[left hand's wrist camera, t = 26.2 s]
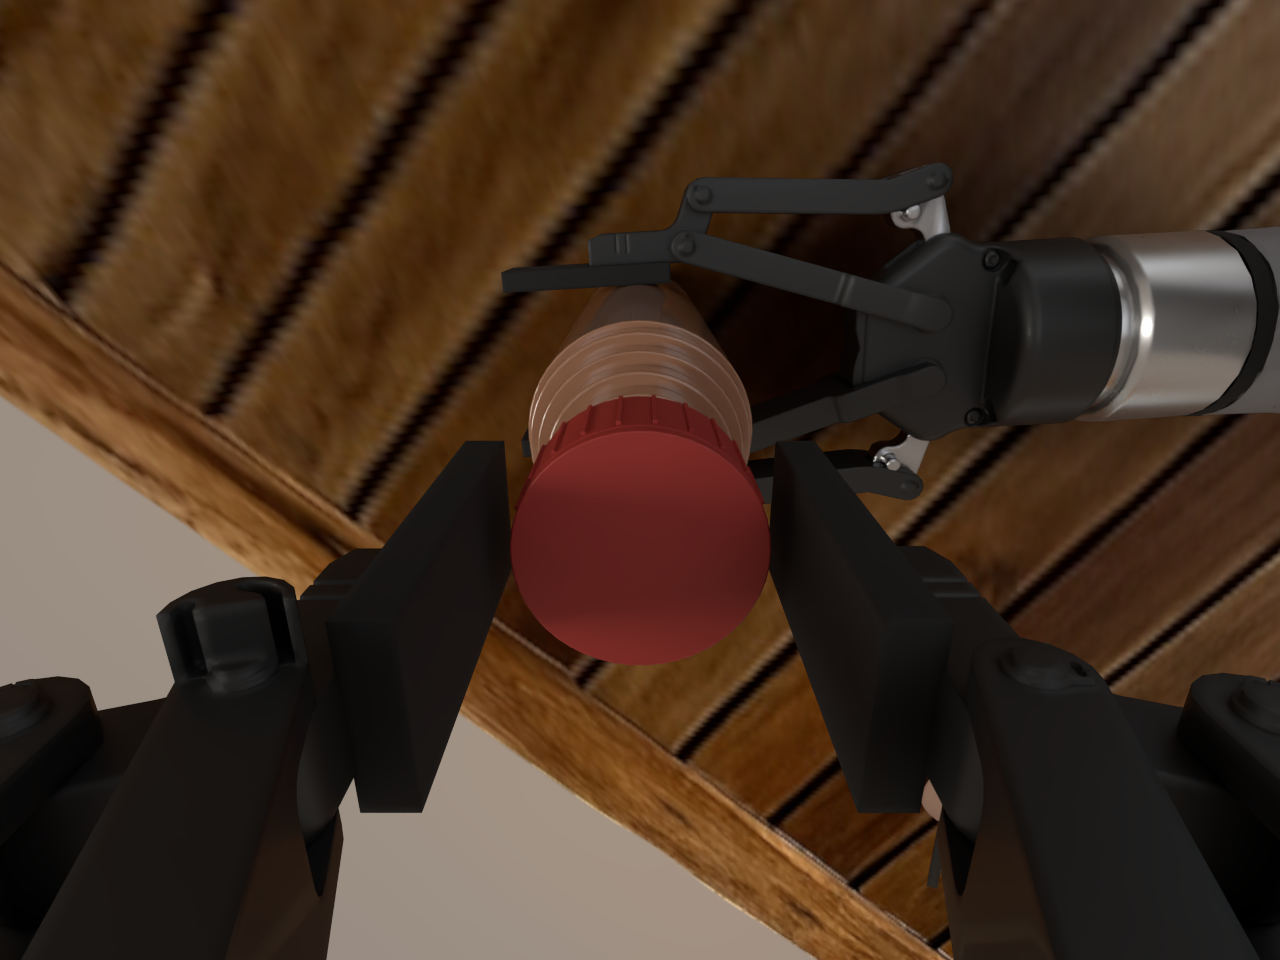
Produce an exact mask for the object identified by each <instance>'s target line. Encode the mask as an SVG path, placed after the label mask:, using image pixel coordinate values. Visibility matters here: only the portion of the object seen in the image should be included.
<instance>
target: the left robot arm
mask: <svg viewBox="0 0 1280 960" xmlns="http://www.w3.org/2000/svg"><path fill="white" fill-rule="evenodd" d="M769 530H770V535H771V557H770V566H769V571H770V574H771V576H772V579H773V582H774V585H775V587H776V590H777V593H778V596H779V598H780V601H781V604H782V606H783V609H784V612H785V615H786V617H787V620H788V623H789V626H790V628H791V631H792V634H793V636H794V639H795V642H796V645H797V647H798V650H799V653H800V656H801V658H802V661H803V664H804V666H805V669H806V672H807V675H808V677H809V680H810V683H811V686H812V688H813V691H814V694H815V696H816V699H817V702H818V705H819V707H820V710H821V713H822V716H823V718H824V721H825V724H826V726H827V729H828V732H829V735H830V737H831V740H832V743H833V746H834V748H835V751H836V754H837V756H838V759H839V762H840V765H841V767H842V770H843V773H844V776H845V778H846V781H847V784H848V786H849V789H850V792H851V795H852V797H853V800H854V803H855V806H856V808H857V811H858V813H920V808H921V802H922V797H923V792H924V786H925V781H926V776H928V778H929V780H930V782H931V784H932V786H933V788H934V790H935V792H936V794H937V796H938V798H939V800H940V801H941V803H942V809H941V814H940V818H939V823H938V828H937V833H936V838H935V843H934V848H933V853H932V858H931V863H930V868H929V875H928V882H927V886H929V887H933V888H937V886H938V881H939V876H940V873H941V872H942V879H943V886H944V893H945V900H946V907H947V914H948V921H949V928H950V935H951V942H952V949H953V956H954V960H1280V683H1278V682H1275V681H1272V680H1269V681H1266V680H1265V679H1264V678H1260V677H1255V676H1249V675H1248V676H1244V675H1235V674H1227V673H1219V674H1210V675H1202V676H1201V677H1200V678H1198V679H1197V680H1196V681H1194V682H1193V683H1192V684H1191V687H1190V690H1189V693H1188V696H1187V699H1186V702H1185V705H1184V708H1182V707H1177V706H1171V705H1166V704H1161V703H1156V702H1150V701H1145V700H1140V699H1135V698H1129V697H1124V696H1120V695H1116V694H1112V692H1111V690H1110V689H1109V687H1108V685H1107V683H1106V682H1105V680H1104V679H1103V678H1102V677H1101V676H1100V675H1099V673H1098V672H1097V671H1096V670H1095V669H1094V668H1093V667H1092V666H1091V665H1089V664H1088V663H1086V662H1084V661H1083V660H1081V659H1080V658H1078V657H1077V656H1075V655H1074V654H1072V653H1069V652H1067V651H1065V650H1062V649H1060V648H1057V647H1055V646H1052V645H1050V644H1047V643H1042V642H1038V641H1033V640H1029V639H1025V638H1020V637H1019V636H1018V635H1017V634H1016V633H1015V631H1014V630H1013V629H1012V628H1011V627H1010V626H1009V625H1008V624H1007V623H1006V621H1005V620H1004V619H1003V618H1002V617H1001V616H1000V615H999V614H998V613H997V612H996V610H995V609H994V608H993V607H992V606H991V605H990V604H989V603H988V602H987V600H986V599H985V598H981V597H980V593H979V592H978V591H977V589H976V588H975V587H974V586H973V585H972V584H971V583H970V582H967V578H966V577H965V576H964V575H963V574H962V573H961V572H960V571H959V570H958V568H957V567H956V566H955V565H954V564H953V563H952V562H951V561H950V560H948V559H946V558H944V557H943V556H941V555H939V554H937V553H935V552H934V551H932V550H930V549H928V548H927V547H925V546H896V545H895V544H894V543H893V541H892V540H891V539H890V538H889V536H888V535H887V534H886V532H885V531H884V530H883V529H882V527H881V526H880V525H879V523H878V522H877V521H876V520H875V518H874V517H873V516H872V514H871V513H870V512H869V511H868V509H867V508H866V507H865V506H864V504H863V503H862V502H861V500H860V499H859V498H858V497H857V495H856V494H855V493H854V491H853V490H852V489H851V488H850V486H849V485H848V484H847V482H846V481H845V480H844V479H843V477H842V476H841V475H840V473H839V472H838V471H837V470H836V468H835V467H834V466H833V464H832V463H831V462H830V461H829V459H828V458H827V457H826V456H825V454H824V453H823V452H822V450H821V449H820V448H819V447H818V445H817V444H816V443H815V441H776V446H775V459H774V473H773V487H772V501H771V515H770V528H769ZM510 539H511V528H510V515H509V501H508V487H507V473H506V460H505V446H504V441H465V443H464V444H463V445H462V447H461V448H460V449H459V450H458V452H457V453H456V454H455V456H454V457H453V458H452V459H451V461H450V462H449V463H448V464H447V466H446V467H445V468H444V470H443V471H442V472H441V473H440V475H439V476H438V477H437V479H436V480H435V481H434V482H433V484H432V485H431V486H430V488H429V489H428V490H427V491H426V493H425V494H424V495H423V497H422V498H421V499H420V500H419V502H418V503H417V504H416V505H415V507H414V508H413V509H412V511H411V512H410V513H409V514H408V516H407V517H406V518H405V520H404V521H403V522H402V523H401V525H400V526H399V527H398V529H397V530H396V531H395V532H394V534H393V535H392V536H391V538H390V539H389V540H388V541H387V543H386V544H385V545H384V547H383V548H382V549H354V550H353V551H351V552H349V553H347V554H346V555H344V556H342V557H340V558H339V559H337V560H335V561H333V562H332V563H330V564H329V565H328V566H327V567H326V568H325V569H324V570H323V571H322V573H321V574H320V575H319V576H318V577H317V578H316V579H315V580H314V581H313V582H314V584H313V585H310V586H309V587H308V588H307V589H306V590H305V591H304V593H303V594H302V595H301V596H300V600H297V599H296V594H295V589H294V587H293V586H292V585H290V584H289V583H287V582H286V581H285V580H281V579H276V578H271V577H242V578H237V579H232V580H226V581H221V582H216V583H214V584H211V585H208V586H205V587H202V588H199V589H196V590H193V591H191V592H189V593H187V594H185V595H183V596H181V597H179V598H178V599H176V600H174V601H172V602H170V603H169V604H168V605H167V606H166V607H165V608H164V609H163V610H161V611H160V612H159V613H158V614H157V615H156V618H157V621H158V625H159V628H160V632H161V635H162V639H163V642H164V646H165V649H166V653H167V656H168V659H169V663H170V666H171V670H172V673H173V677H174V680H175V683H174V685H173V686H172V688H171V690H170V692H169V694H168V695H167V697H166V698H162V699H158V700H153V701H147V702H142V703H137V704H131V705H126V706H121V707H116V708H111V709H105V710H100V711H97V708H96V705H95V702H94V699H93V696H92V693H91V690H90V687H89V686H88V685H86V684H85V683H84V682H82V681H81V680H80V679H76V678H68V677H59V676H57V677H49V678H41V679H28V680H24V681H19V682H16V684H14V685H13V684H12V683H11V684H8V685H5V686H2V687H0V960H326V958H327V951H328V944H329V937H330V930H331V923H332V916H333V909H334V902H335V895H336V888H337V881H338V874H339V867H340V860H341V853H342V846H343V831H342V823H341V819H340V814H339V809H338V807H339V805H340V803H341V801H342V799H343V797H344V795H345V793H346V792H347V790H348V788H349V786H350V784H351V782H352V780H353V778H354V781H355V786H356V792H357V797H358V803H359V808H360V812H361V813H422V811H423V808H424V805H425V803H426V800H427V797H428V794H429V792H430V789H431V786H432V784H433V781H434V778H435V775H436V773H437V770H438V767H439V765H440V762H441V759H442V756H443V754H444V751H445V748H446V745H447V743H448V740H449V737H450V734H451V732H452V729H453V726H454V724H455V721H456V718H457V715H458V713H459V710H460V707H461V705H462V702H463V699H464V696H465V694H466V691H467V688H468V685H469V683H470V680H471V677H472V675H473V672H474V669H475V666H476V664H477V661H478V658H479V655H480V653H481V650H482V647H483V645H484V642H485V639H486V636H487V634H488V631H489V628H490V625H491V623H492V620H493V617H494V615H495V612H496V609H497V606H498V604H499V601H500V598H501V595H502V593H503V590H504V587H505V585H506V582H507V579H508V576H509V574H510V571H511V568H512V565H511V558H510Z"/></svg>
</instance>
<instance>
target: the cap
mask: <svg viewBox="0 0 1280 960" xmlns="http://www.w3.org/2000/svg"><path fill="white" fill-rule="evenodd" d="M762 504H765V502H764V499H763V497H762V494H761V492H760V490H759V488H758V485H757V483H756V481H755V478H754V476H753V474H752V472H751V469H750V467H749V466H747V465H746V463H745V461H744V458H743V456H742V454H741V451H740V449H739V447H738V444H737V442H736V441H735V440H733V441H732V440H731V439H730V438H729V436H728V435H727V434H726V433H725V432H724V431H723V430H722V429H721V428H720V427H719V426H718V425H717V423H716V420H715V419H714V418H711V419H709V418H708V417H707V416H705V415H703V414H702V413H700V412H698V411H697V410H695V409H693V408H691V407H688V404H687V403H685V402H684V403H683V404H681V403H678V402H675V401H671V400H668V399H663V398H656V395H652V396H651V397H641V396H634V397H625V398H623V396H619V398H618V399H614V400H610V401H606V402H603V403H600V404H598V405H595V406H592V405H589V406H588V407H587V409H586V410H585V411H583V412H581V413H579V414H577V415H576V416H575V417H573V418H572V419H571V420H569V421H568V422H566V423H565V421H564V422H562V423H561V425H560V428H559V430H558V431H557V432H556V433H555V434H554V435H553V437H552V438H551V439H550V440H549V442H548V443H547V444H546V445H544V444H543V445H542V447H541V449H540V451H539V453H538V456H537V458H536V460H535V463H534V465H533V467H532V470H531V471H530V473H529V475H528V477H527V480H526V482H525V484H524V487H523V489H522V491H521V494H520V496H519V498H518V500H517V503H516V505H515V508H514V510H517V511H516V513H515V517H514V521H513V525H512V529H511V539H510V558H511V565H512V570H513V575H514V578H515V581H516V584H517V587H518V589H519V592H520V593H521V595H522V597H523V599H524V601H525V603H526V605H527V606H528V608H529V609H530V611H531V612H532V613H533V615H534V616H535V617H536V619H537V620H538V621H539V622H540V623H541V624H542V625H543V626H544V627H545V628H546V629H547V630H548V631H549V632H550V633H552V634H553V635H554V636H555V637H556V638H558V639H559V640H561V641H562V642H564V643H565V644H567V645H568V646H570V647H572V648H574V649H576V650H578V651H580V652H582V653H584V654H586V655H589V656H592V657H594V658H597V659H600V660H604V661H608V662H613V663H619V664H627V665H654V664H663V663H668V662H673V661H677V660H681V659H684V658H687V657H690V656H693V655H695V654H697V653H699V652H701V651H704V650H706V649H708V648H709V647H711V646H713V645H714V644H716V643H718V642H719V641H721V640H722V639H723V638H724V637H726V636H727V635H728V634H730V633H731V632H732V631H733V630H734V629H735V628H736V627H737V626H738V625H739V624H740V623H741V622H742V621H743V620H744V619H745V617H746V616H747V615H748V613H749V612H750V611H751V609H752V608H753V606H754V605H755V603H756V601H757V599H758V598H759V596H760V594H761V592H762V589H763V587H764V584H765V582H766V578H767V574H768V570H769V566H770V557H771V535H770V530H769V525H768V520H767V517H766V514H765V511H764V508H763V505H762Z"/></svg>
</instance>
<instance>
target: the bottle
mask: <svg viewBox="0 0 1280 960" xmlns="http://www.w3.org/2000/svg"><path fill="white" fill-rule="evenodd" d="M652 395H656V398H663V399H668V400H671V401H675V402H678V403H681V404H683V403H684V402H685V403H687V404H688V407H691V408H693V409H695V410H697V411H698V412H700V413H702V414H703V415H705V416H707V417H708V418H709V419H711V418H714V419H715V420H716V423H717V425H718V426H719V427H720V428H721V429H722V430H723V431H724V432H725V433H726V434H727V435H728V436H729V438H730V439H731V440H732V441H733V440H735V441H736V442H737V444H738V447H739V449H740V451H741V454H742V456H743V458H744V461H745V463H746V465H747V463H748V459H749V455H750V447H751V440H752V415H751V409H750V403H749V400H748V397H747V394H746V390H745V388H744V386H743V384H742V382H741V380H740V378H739V376H738V374H737V372H736V371H735V369H734V368H733V366H732V364H731V363H730V361H729V360H728V358H727V356H726V355H725V353H724V352H723V350H722V348H721V347H720V345H719V344H718V342H717V340H716V339H715V337H714V336H713V334H712V332H711V331H710V329H709V328H708V326H707V324H706V323H705V321H704V319H703V318H702V316H701V315H700V313H699V311H698V310H697V308H696V307H695V305H694V303H693V302H692V300H691V299H690V297H689V296H688V294H687V293H686V292H685V291H684V290H683V288H682V287H680V286H679V285H678V284H677V283H676V282H674V281H673V280H671V283H665V284H647V285H630V286H612V287H599V288H598V289H597V290H596V291H595V293H594V294H593V295H592V296H591V298H590V300H589V301H588V303H587V304H586V306H585V308H584V309H583V311H582V312H581V314H580V316H579V317H578V319H577V321H576V322H575V324H574V325H573V327H572V329H571V330H570V332H569V333H568V335H567V337H566V338H565V340H564V342H563V343H562V345H561V346H560V348H559V350H558V351H557V353H556V354H555V356H554V358H553V359H552V361H551V363H550V364H549V366H548V367H547V369H546V371H545V372H544V374H543V376H542V377H541V379H540V381H539V383H538V386H537V388H536V390H535V393H534V396H533V399H532V403H531V407H530V414H529V422H528V425H529V442H530V449H531V455H532V460H533V464H534V463H535V460H536V458H537V456H538V453H539V451H540V449H541V447H542V445H543V444H544V445H546V444H547V443H548V442H549V440H550V439H551V438H552V437H553V435H554V434H555V433H556V432H557V431H558V430H559V428H560V425H561V423H562V422H564V421H565V423H566V422H568V421H569V420H571V419H572V418H573V417H575V416H576V415H577V414H579V413H581V412H583V411H585V410H586V409H587V407H588V406H589V405H592V406H595V405H598V404H600V403H603V402H606V401H610V400H614V399H618V398H619V396H623V398H625V397H634V396H641V397H651V396H652Z"/></svg>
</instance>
